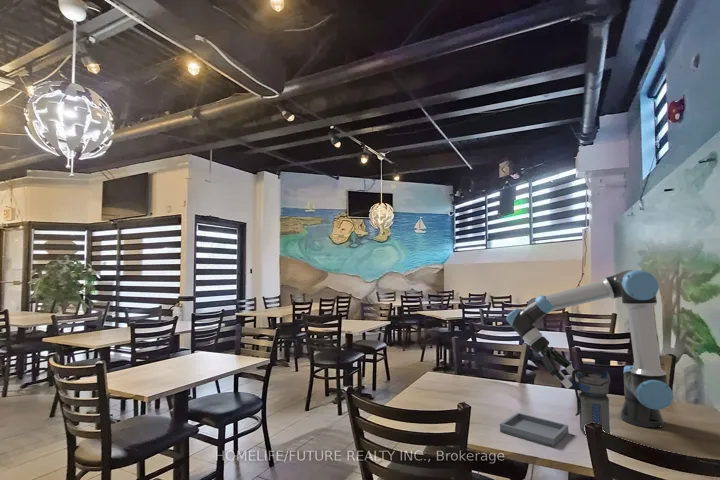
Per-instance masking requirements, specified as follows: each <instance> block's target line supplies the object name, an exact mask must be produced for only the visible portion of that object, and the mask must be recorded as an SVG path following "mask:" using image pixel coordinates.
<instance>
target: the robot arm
mask: <svg viewBox="0 0 720 480" xmlns="http://www.w3.org/2000/svg"><path fill="white" fill-rule="evenodd" d="M658 291H659V282H658V280H657V278H656V277H655V276H654V275H653V274H652V273H650V272H648V271H645V270H642V269H633V270H632V269H629V270H628V269H627V270H624V271H620V272H619V273H617V274H614V275H611V276H607V277H604V278H603V279H602V280H601V281H597V282H593V283H590V284H586V285H580V286H578V287H574V288H570V289H566V290H562V291H559V292H554V293H550V294H547V295H543V294H540V295H539V296H538V297H533V298H531V299H529V300H528V301H527V305H526V306H525V307H524V308H523V309H522V310H520V309H519V308H515V309H513V310H512V311H511V312H509V313H508V314H507V316H506V317H505V318H506V322H507V323H508V324H509V325H510V327H511V328H512V329H513V330H514V331H515V332H516V333H517V334H518V336H519V337H520V338H522V339H523V342H524V343H525V344H527V345H528V346H530V349H531V350H532V351H533V352H534V353H535V354H537V356H538V357H539V358H540V360H541V362H542V363H543V364H544V366H545V368H546V369H547V371H548V372H549V374H550V375H551V376H552V377H553V376H555V377H556V378H557V380H559V382H560V383H561V384H562V385H563V386H564V387H565V388H566V390H569V388H571V387H572V386H574V384H573V383H572V382H571V381H570V380H569V379H568V378H567V376H565V374H564V373H563V372H562V370H559V369H558V367H557V364H559V365H560V366H562V367H564V370H565V371H566V372H567V373H568V374H569V375H570V376H571V377H572V372H573V371H574V370H575V369H574V367H572V365H573V364H572V362H571V361H570V360H568V359H567V358H566V357H564V355H563V354H561V353H560V352H558V351H557V350H556V349H555V348H554V347H553V346H551V347H549V344H550V341H549V340H548V339H547V338H546V337H545V336H543V334H542V332H541V331H540V330H539V329H538V328H537V327H536V326H535V324H536V323H537V322H538V321H540V320H541V319H542V318H543V317H545V316H546V315H547V314H549V313H550V312H554V311H558V310H562V309H566V308H570V307H574V306H578V305H583V304H587V303H591V302H595V301H600V300H603V299H607V298H610V299H612V300H613V299H618V298H621V300H622V304H623V305H624V306H625V307H626V308H627V314H628V324H629V330H630V339H631V347H632V348H631V349H632V355H633V363H634V365H625V366H624V367H623V385H624V386H623V388H624V390H623V391H624V402H623V404H622V407H621V410H620V412H619V414H620V419H621V420H622V421H624V422H626V423H628V424H631V425H634V426H637V427H643V428H648V427H660V426H663V424H664V418H663V416H662V414H661V411H660V410H663V409H666V408H667V407H669V406H670V405H671V404H672V402H673V399H674V394H673V390H672V389H671V387H670V386H669V385H668V384H669V383H668V378H667V377H668V376H667V372H666V371H665V370H664V369H662V368H661V360H660V351H659V344H658V343H659V342H658V336H657V328H656V320H655V314H654V307H655V306H656V305H657V303H658V301H657V300H658V299H657V294H658ZM555 362H556V363H557V364H556V363H555ZM575 380H576V383H578V382H579V380H578V378H577V377H576V375H575ZM663 427H664V426H663Z"/></svg>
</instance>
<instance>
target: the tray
mask: <svg viewBox="0 0 720 480" xmlns="http://www.w3.org/2000/svg"><path fill="white" fill-rule="evenodd" d="M499 432H500V433H502V434H506V435H511V436H513V437H517V438H520V439H523V440H527V441H530V442H533V443H537V444H540V445H543V446H546V447H550V448H552V449H553V448H555V447H556V446H557V445H558V444H559V443H560V442H562V440H563V439H564V438H566V436H567V435H568V434H569V424H564V423H561V422H557V421H554V420H549V419H544V418H541V417H537V416H535V415H534V416H532V415H530V414H525V413H522V412H521V413H520V412H516V413H514V414H513V415H511V416H510V417H509V418H507V419H505V420H504V421H502V422H501V423H499Z"/></svg>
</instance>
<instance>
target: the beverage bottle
mask: <svg viewBox="0 0 720 480" xmlns="http://www.w3.org/2000/svg"><path fill="white" fill-rule="evenodd" d="M575 375H576V377H577V378H578V380H579V381H578V382H576V380H575ZM571 378H572V382H573V383H572V384H573V387H574V392H575V397H576V410H577V411H576V413H575V414H574V415H575V417H577V416H579V428H580V431H581V433H582V434H584V435H586V434H585V431H584V425H585V424H588V423H593V422H595V423H599V424H601V425H602V427H603V430H604V431H605V432H606V433H609V434H610V435H611V431H610V430H611V429H610V397H608V396H607V395H608V394H609V393H610V392H609V391H610V390H609V387H610V385H611V376H610V373H609V371H608V370H607V369H604V374H600V373H597V372H593V371H585V370H583V369H577V368H576V369H574V371H573V372H572V376H571ZM577 383H578V384H577ZM577 385H578V386H577ZM578 388H579V389H578ZM578 390H580V393H579V391H578Z"/></svg>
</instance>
